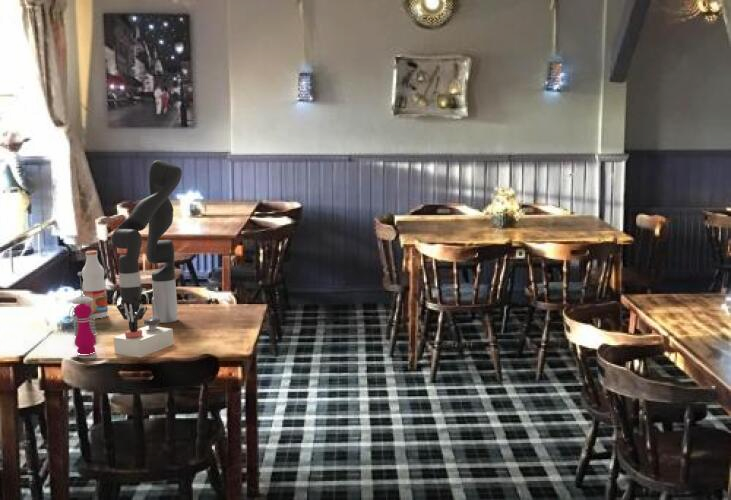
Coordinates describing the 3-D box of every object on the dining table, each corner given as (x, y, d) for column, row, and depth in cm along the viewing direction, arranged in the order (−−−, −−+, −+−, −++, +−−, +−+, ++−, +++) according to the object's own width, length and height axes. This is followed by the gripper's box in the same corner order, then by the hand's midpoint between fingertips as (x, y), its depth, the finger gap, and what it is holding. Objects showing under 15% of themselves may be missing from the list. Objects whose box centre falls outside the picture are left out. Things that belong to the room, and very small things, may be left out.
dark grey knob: (141, 334, 348) (140, 320, 347) (152, 330, 353) (151, 316, 352) (153, 336, 345) (152, 322, 344) (164, 332, 350) (163, 318, 349)
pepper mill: (78, 351, 345) (73, 297, 342) (98, 350, 346) (94, 296, 342) (74, 356, 338) (69, 302, 335) (94, 355, 339) (90, 301, 335)
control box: (114, 353, 341) (113, 337, 340) (149, 341, 356) (147, 325, 355) (139, 357, 335) (138, 341, 334) (173, 344, 350) (172, 328, 349)
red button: (122, 347, 340) (121, 332, 339) (134, 342, 345) (133, 328, 344) (135, 348, 337) (133, 334, 336) (146, 344, 342) (145, 330, 341)
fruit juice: (90, 314, 401) (84, 249, 396) (111, 314, 400) (106, 249, 395) (81, 319, 392) (75, 253, 387) (103, 319, 391) (97, 253, 386)
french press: (103, 332, 370) (98, 270, 365) (81, 340, 360) (76, 276, 355) (84, 330, 374) (79, 268, 370) (63, 337, 364) (57, 274, 360)
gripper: (108, 285, 337) (112, 332, 340) (136, 287, 330) (140, 335, 333) (123, 280, 343) (127, 327, 346) (151, 283, 337) (154, 330, 340)
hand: (133, 331), depth 340 cm, fingers closed
